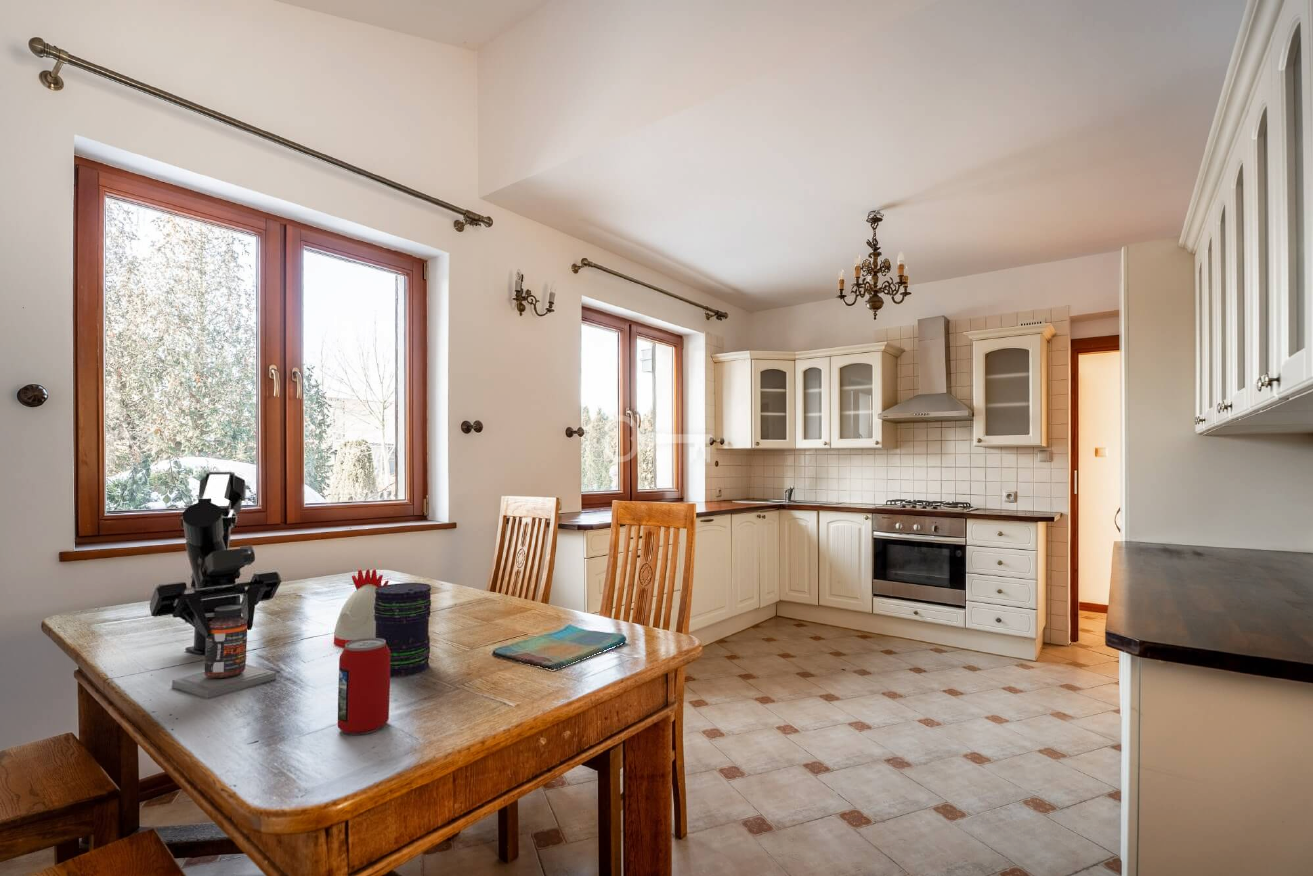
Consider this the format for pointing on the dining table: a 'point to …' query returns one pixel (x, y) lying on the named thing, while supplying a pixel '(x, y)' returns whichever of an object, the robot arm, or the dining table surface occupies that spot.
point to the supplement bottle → (226, 643)
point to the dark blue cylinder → (404, 626)
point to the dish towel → (559, 647)
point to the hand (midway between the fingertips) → (230, 632)
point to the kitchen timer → (358, 610)
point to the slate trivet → (223, 682)
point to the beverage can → (364, 686)
